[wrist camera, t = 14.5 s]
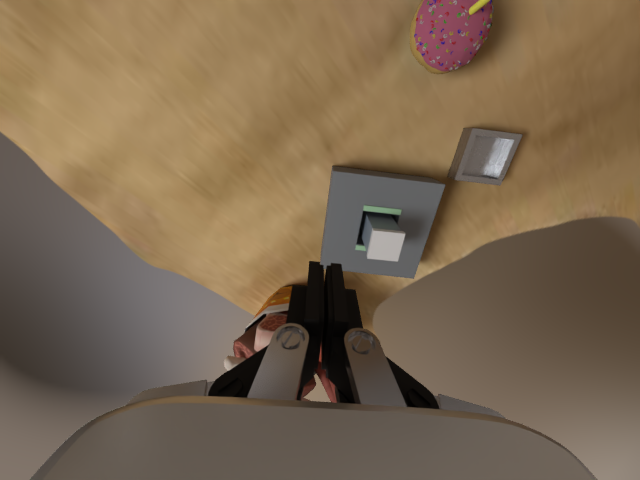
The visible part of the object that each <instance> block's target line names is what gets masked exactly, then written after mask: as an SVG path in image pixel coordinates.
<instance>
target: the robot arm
mask: <svg viewBox="0 0 640 480" xmlns="http://www.w3.org/2000/svg"><path fill="white" fill-rule="evenodd" d="M320 348H321V369H323V370H326V378H328V379H329V380H330V381H331V382H332V383H333V384H334V385H335V395H336V401H337V403H333V402H316V401H302V396H303V392H304V386H305V385H306V384H307V383H308V382H309V381H310V380H311V379H312V378H313V375H314V369H318V363H319V356H320ZM30 480H597V478H596V477H595V476H594V475H593V474H592V473H591V472H590V471H589V469H588V468H587V467H586V466H585V465H584V464H583V463H582V462H581V461H580V460H579V459H578V458H577V457H576V456H575V455H574V454H573V453H571V452H570V451H569V450H568V449H567V448H565V447H564V446H563V445H561V444H560V443H558V442H556V441H555V440H553V439H552V438H550V437H548V436H546V435H544V434H542V433H541V432H539V431H536V430H534V429H531V428H529V427H527V426H525V425H523V424H520V423H517V422H514V421H511V420H508V419H506V418H505V417H503V416H502V415H501V414H500V413H498V412H497V411H494V410H492V409H490V408H486V407H483V406H479V405H476V404H473V403H469V402H465V401H462V400H459V399H455V398H452V397H448V396H445V395H442V394H438V396H434V395H433V394H432V393H431V392H430V391H429V390H428V389H427V388H426V387H424V386H423V385H422V384H421V383H419V382H418V381H416V380H415V379H414V378H413V377H412V376H410V375H409V374H408V373H406V372H405V371H404V370H403V369H401V368H400V367H399V366H397V365H396V364H395V363H394V362H392V361H391V360H390V359H389V358H387V357H386V356H385V354H384V352H383V349H382V347H381V345H380V342H379V340H378V339H377V337H376V336H375V335H374V334H373V333H372V332H370V331H369V330H366V329H363V326H362V321H361V316H360V311H359V305H358V300H357V295H356V291H355V290H353V289H345V286H344V279H343V271H342V264H339V263H331V265H327V266H326V274H325V282H324V265H320V262H314V261H309V273H308V285H307V286H300V285H292V290H291V296H290V302H289V307H288V313H287V319H286V324H284V325H282V326H280V327H278V328H277V329H276V330H275V332H274V333H273V336H272V338H271V340H270V343H269V345H267V346H266V347H264V348H263V349H261V350H260V351H258V352H257V353H255V354H253V355H252V356H250V357H249V358H247V359H246V360H244V361H243V362H241V363H240V364H238V365H237V366H235V367H233V368H232V369H230V370H229V371H227V372H226V373H224V374H223V375H221V376H220V377H219V378H218V379H216V380H215V381H213V382H207V380H201V381H195V382H189V383H183V384H177V385H170V386H164V387H158V388H152V389H148V390H145V391H142V392H141V393H139V394H137V395H136V396H134V397H133V398H132V399H131V400H130V401H129V402H128V403H127V404H126V405H125V406H122V407H120V408H116V409H114V410H111V411H109V412H107V413H105V414H103V415H100V416H98V417H96V418H95V419H93V420H91V421H90V422H88V423H86V424H85V425H83V426H82V427H81V428H80V429H78V430H77V431H76V432H75V433H73V434H72V435H71V436H70V437H69V438H68V439H67V440H66V441H65V442H64V443H63V444H62V445H61V446H60V447H59V448H58V449H57V450H56V451H55V452H54V453H53V454H52V455H51V456H50V457H49V458H48V459H47V461H46V462H45V463H44V464H43V465H42V466H41V467H40V469H38V470H37V472H36V473H35V474H34V475H33V476H32V477H31V479H30Z"/></svg>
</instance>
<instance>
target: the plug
mask: <svg viewBox="0 0 640 480" xmlns="http://www.w3.org/2000/svg"><path fill="white" fill-rule="evenodd" d="M360 234H361V237H362V240H363V243H364V246H365V249H366V252H367V259H377V260H386V261H396V262H398V259H399V255H400V252H401V248H402V245H403V241H404V237H405V232H404V231H402V230H401V229H400V228H399V226H398V225H397V223H396V222H395V221H394V219H393V218H392V217H391V215H390V214H386V213H378V212H369V211H363V215H362V220H361V226H360Z"/></svg>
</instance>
